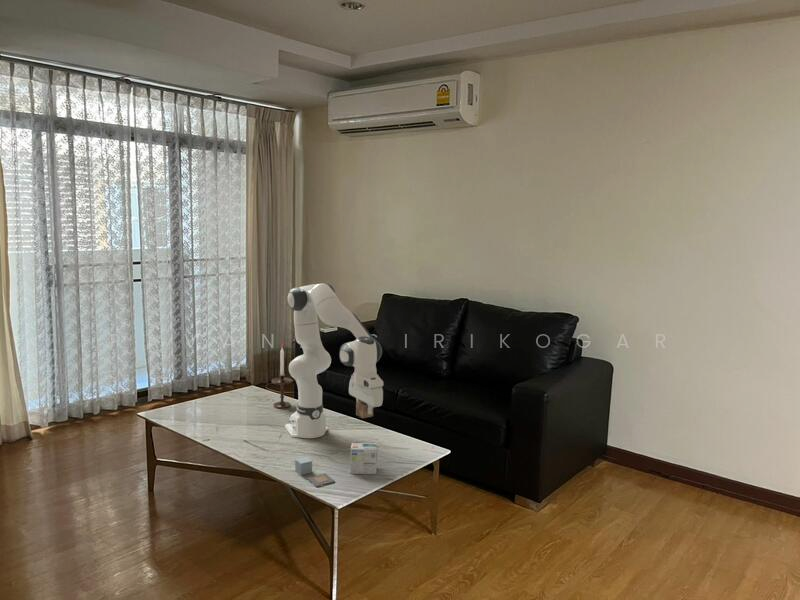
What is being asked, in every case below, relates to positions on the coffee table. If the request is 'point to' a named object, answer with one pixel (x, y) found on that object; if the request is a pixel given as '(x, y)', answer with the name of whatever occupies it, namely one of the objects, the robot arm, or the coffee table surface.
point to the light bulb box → (363, 458)
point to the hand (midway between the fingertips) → (364, 411)
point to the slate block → (303, 465)
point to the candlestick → (282, 383)
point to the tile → (321, 480)
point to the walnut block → (362, 410)
